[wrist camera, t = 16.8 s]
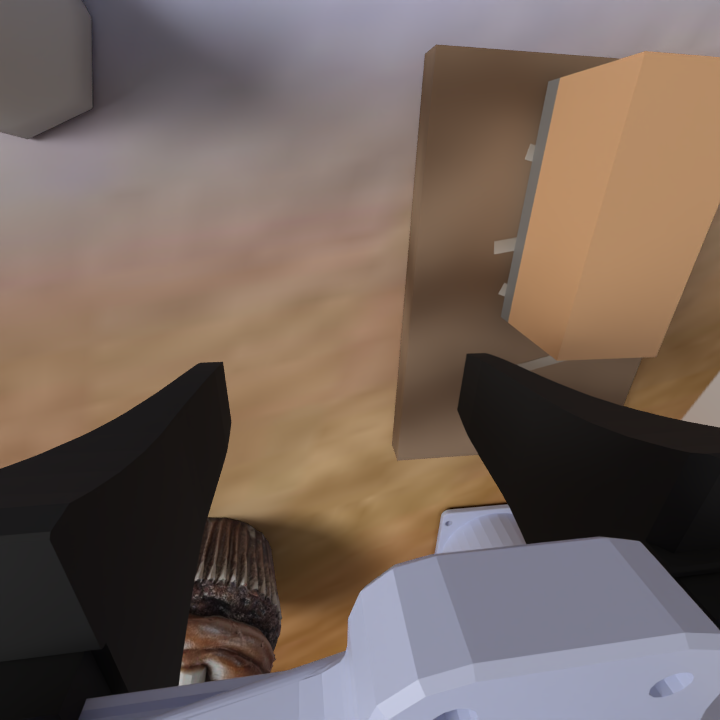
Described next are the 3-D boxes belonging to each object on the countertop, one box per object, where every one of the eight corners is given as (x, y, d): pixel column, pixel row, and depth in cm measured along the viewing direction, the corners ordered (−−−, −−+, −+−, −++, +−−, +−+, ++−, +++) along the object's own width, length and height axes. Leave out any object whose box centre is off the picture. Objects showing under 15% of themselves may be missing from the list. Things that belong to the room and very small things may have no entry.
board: (592, 431, 27) (608, 445, 26) (392, 444, 25) (397, 460, 24) (721, 75, 18) (756, 69, 17) (424, 54, 16) (436, 44, 15)
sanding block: (580, 315, 21) (656, 356, 16) (500, 316, 20) (556, 360, 16) (648, 88, 16) (777, 61, 12) (548, 81, 16) (645, 51, 11)
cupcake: (313, 544, 28) (319, 719, 19) (230, 615, 31) (202, 800, 22) (196, 484, 24) (138, 668, 16) (111, 571, 27) (19, 773, 18)
